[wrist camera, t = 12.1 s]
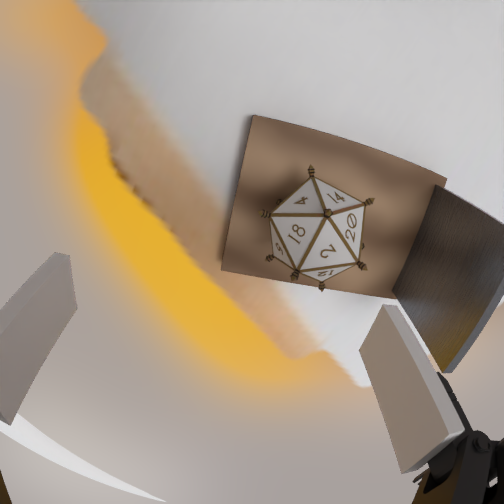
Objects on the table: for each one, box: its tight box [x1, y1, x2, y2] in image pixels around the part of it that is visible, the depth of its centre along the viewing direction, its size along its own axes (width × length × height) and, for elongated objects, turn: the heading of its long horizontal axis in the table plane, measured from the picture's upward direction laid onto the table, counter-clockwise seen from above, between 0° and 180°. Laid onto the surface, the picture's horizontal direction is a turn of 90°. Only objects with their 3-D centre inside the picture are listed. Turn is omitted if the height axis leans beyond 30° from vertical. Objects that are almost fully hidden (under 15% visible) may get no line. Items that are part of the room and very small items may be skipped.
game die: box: [257, 164, 375, 291], centre depth 22 cm, size 9×8×10 cm
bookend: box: [392, 185, 504, 373], centre depth 21 cm, size 12×1×12 cm, turn 168°
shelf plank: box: [221, 115, 447, 299], centre depth 27 cm, size 14×19×2 cm
